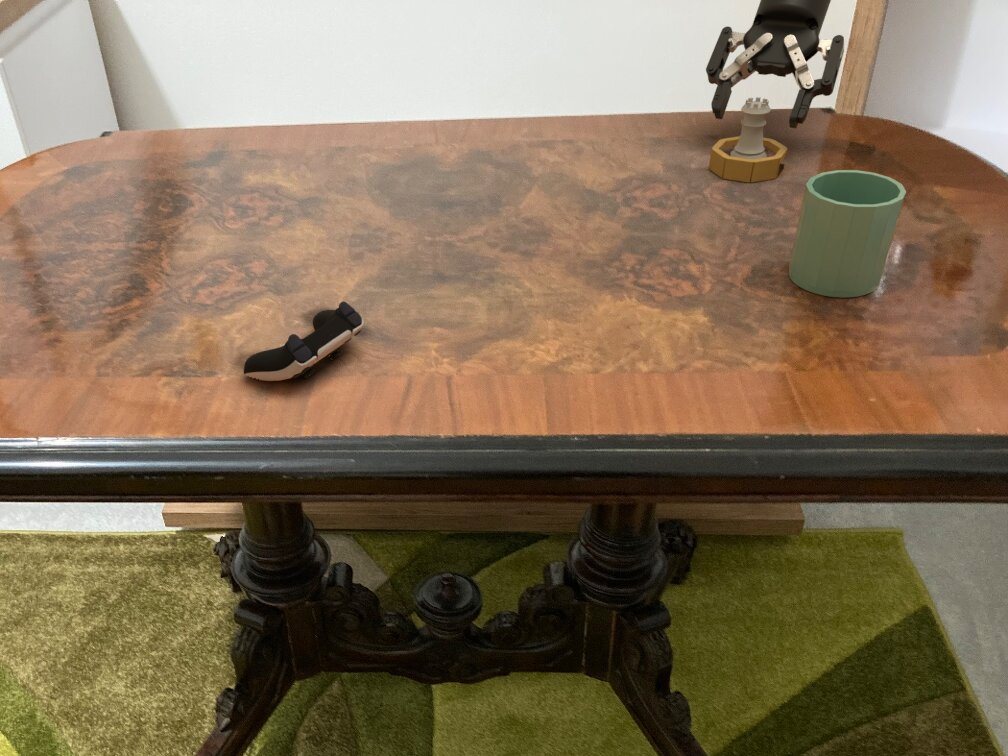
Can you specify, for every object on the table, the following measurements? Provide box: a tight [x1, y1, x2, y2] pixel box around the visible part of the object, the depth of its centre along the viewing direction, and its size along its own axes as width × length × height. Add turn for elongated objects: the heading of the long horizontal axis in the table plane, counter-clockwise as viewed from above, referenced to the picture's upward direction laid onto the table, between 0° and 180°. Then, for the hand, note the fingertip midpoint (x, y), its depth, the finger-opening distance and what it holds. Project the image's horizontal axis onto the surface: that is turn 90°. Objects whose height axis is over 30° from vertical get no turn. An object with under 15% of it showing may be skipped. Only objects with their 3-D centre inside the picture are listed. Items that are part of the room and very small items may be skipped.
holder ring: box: [708, 135, 788, 184], centre depth 109 cm, size 8×8×2 cm
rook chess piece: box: [729, 96, 772, 160], centre depth 108 cm, size 4×4×8 cm
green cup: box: [788, 169, 907, 299], centre depth 86 cm, size 8×8×9 cm
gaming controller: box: [243, 301, 364, 382], centre depth 81 cm, size 11×4×7 cm
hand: (754, 120), depth 107 cm, fingers open, 8 cm apart
